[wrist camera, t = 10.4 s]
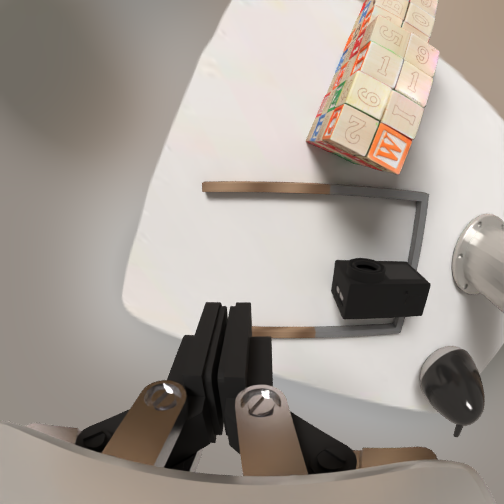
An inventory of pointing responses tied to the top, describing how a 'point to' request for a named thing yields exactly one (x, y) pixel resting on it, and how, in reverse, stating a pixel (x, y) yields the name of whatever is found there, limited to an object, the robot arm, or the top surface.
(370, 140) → the stack of blocks
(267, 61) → the top surface
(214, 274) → the top surface
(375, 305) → the digital camera
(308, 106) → the top surface
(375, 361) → the top surface
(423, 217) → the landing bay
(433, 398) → the black rounded mouse
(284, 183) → the shelf lane
